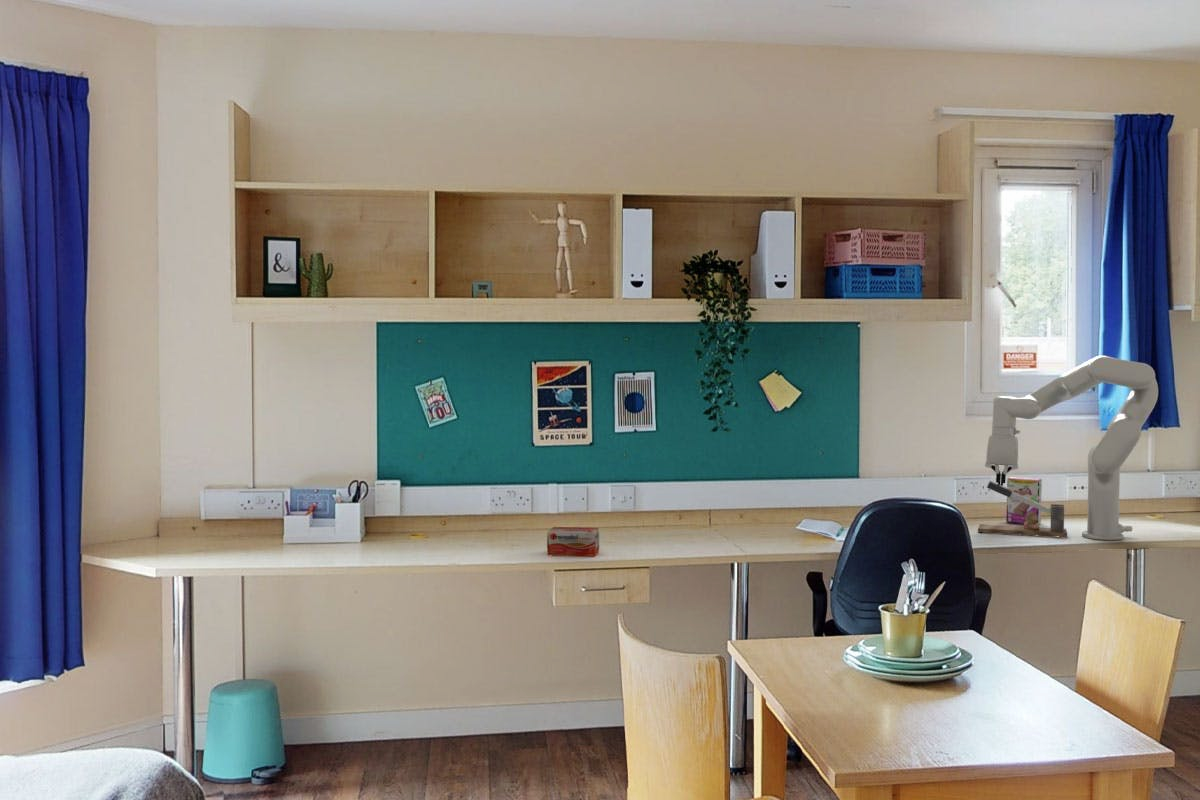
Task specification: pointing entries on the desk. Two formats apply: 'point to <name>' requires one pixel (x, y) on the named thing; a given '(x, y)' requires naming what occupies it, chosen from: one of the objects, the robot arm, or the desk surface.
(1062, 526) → the press base
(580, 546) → the medicine box
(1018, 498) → the lever
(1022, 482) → the candy bar box
